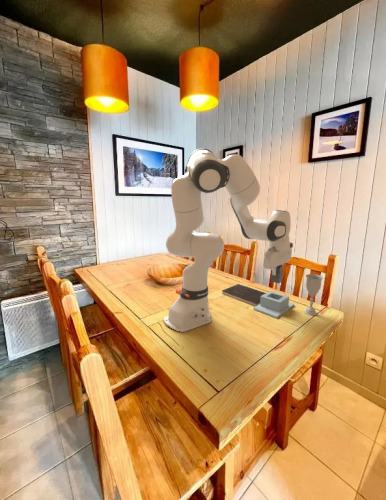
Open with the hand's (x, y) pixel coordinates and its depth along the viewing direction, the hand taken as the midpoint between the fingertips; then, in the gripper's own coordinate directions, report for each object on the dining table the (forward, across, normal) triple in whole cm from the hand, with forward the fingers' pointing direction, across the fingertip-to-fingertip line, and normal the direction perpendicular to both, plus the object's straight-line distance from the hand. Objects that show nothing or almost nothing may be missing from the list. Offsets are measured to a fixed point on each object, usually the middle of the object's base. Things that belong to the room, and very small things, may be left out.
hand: (276, 273), depth 108 cm
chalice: (+18, +7, -14) cm, 24 cm away
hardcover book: (+19, +2, +18) cm, 26 cm away
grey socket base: (+18, 0, 0) cm, 18 cm away
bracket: (+4, 0, 0) cm, 4 cm away
